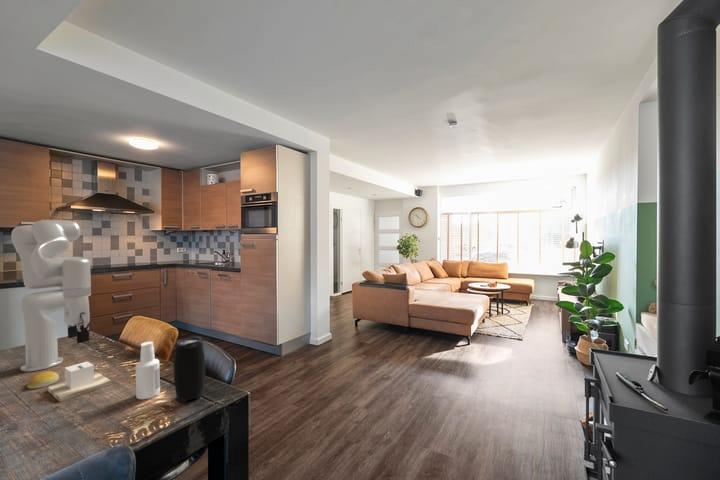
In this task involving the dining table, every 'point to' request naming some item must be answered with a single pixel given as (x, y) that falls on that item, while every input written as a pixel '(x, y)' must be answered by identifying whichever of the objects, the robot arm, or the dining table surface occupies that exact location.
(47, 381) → the bread roll
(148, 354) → the white plastic bottle
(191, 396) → the portable speaker
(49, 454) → the dining table surface
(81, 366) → the white slotted cube
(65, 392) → the beige square plate
